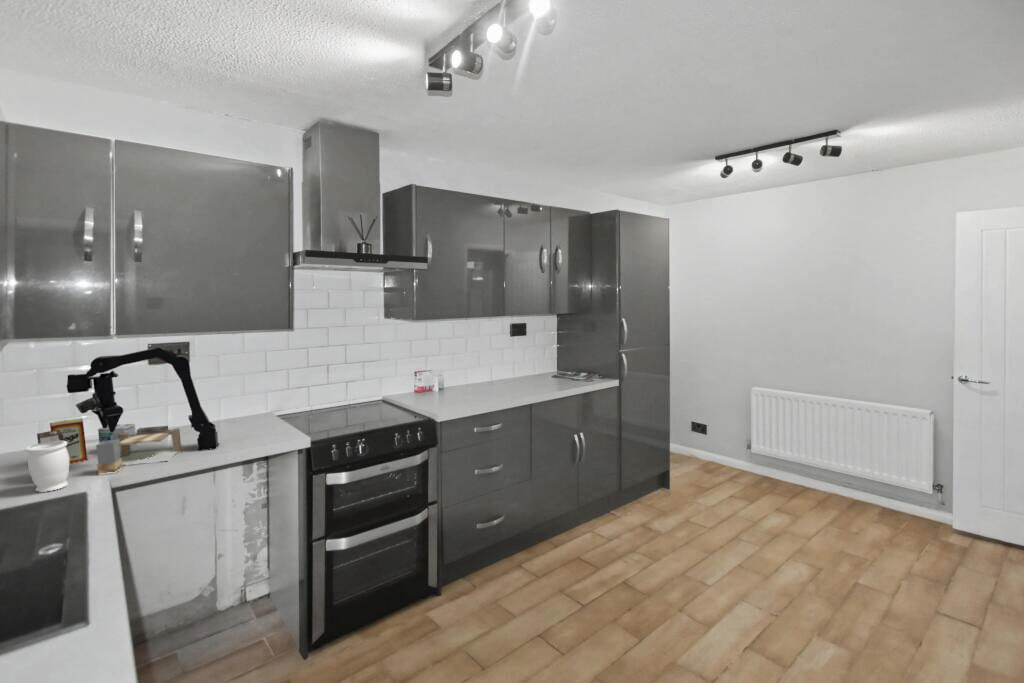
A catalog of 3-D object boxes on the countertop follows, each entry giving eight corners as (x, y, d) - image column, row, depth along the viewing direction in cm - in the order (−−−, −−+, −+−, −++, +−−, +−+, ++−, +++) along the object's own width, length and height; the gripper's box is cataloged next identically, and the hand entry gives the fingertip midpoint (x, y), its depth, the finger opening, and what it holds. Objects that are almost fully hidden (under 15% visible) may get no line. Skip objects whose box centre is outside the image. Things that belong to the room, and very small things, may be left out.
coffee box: (69, 477, 185) (63, 433, 183) (45, 483, 180) (39, 437, 179) (64, 471, 191) (59, 429, 189) (41, 476, 187) (35, 433, 185)
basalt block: (120, 458, 193) (118, 439, 192) (115, 462, 188) (112, 443, 187) (104, 459, 191) (102, 441, 191) (98, 464, 187) (96, 445, 186)
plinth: (122, 468, 193) (121, 457, 193) (115, 473, 188) (114, 462, 188) (105, 470, 192) (104, 459, 192) (98, 475, 187) (97, 464, 186)
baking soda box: (86, 456, 209) (81, 417, 207) (87, 460, 204) (82, 420, 202) (54, 462, 202) (49, 422, 200) (55, 466, 197) (50, 425, 196)
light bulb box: (99, 454, 211) (96, 428, 209) (111, 449, 217) (109, 424, 216) (126, 453, 211) (124, 427, 210) (138, 448, 218) (135, 423, 216)
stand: (182, 449, 214) (180, 427, 213) (169, 461, 200) (166, 437, 199) (126, 455, 209) (123, 432, 208) (108, 467, 195) (105, 443, 194)
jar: (73, 487, 175) (68, 444, 174) (32, 497, 168) (26, 452, 167) (70, 479, 183) (65, 438, 181) (31, 488, 176) (25, 445, 174)
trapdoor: (174, 431, 214) (173, 425, 214) (160, 442, 200) (159, 434, 200) (134, 435, 211) (134, 428, 210) (118, 445, 197) (117, 438, 197)
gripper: (70, 390, 196) (75, 431, 198) (83, 396, 184) (88, 439, 186) (106, 385, 205) (111, 424, 206) (121, 391, 193) (125, 432, 195)
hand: (108, 430), depth 198 cm, fingers open, 9 cm apart
